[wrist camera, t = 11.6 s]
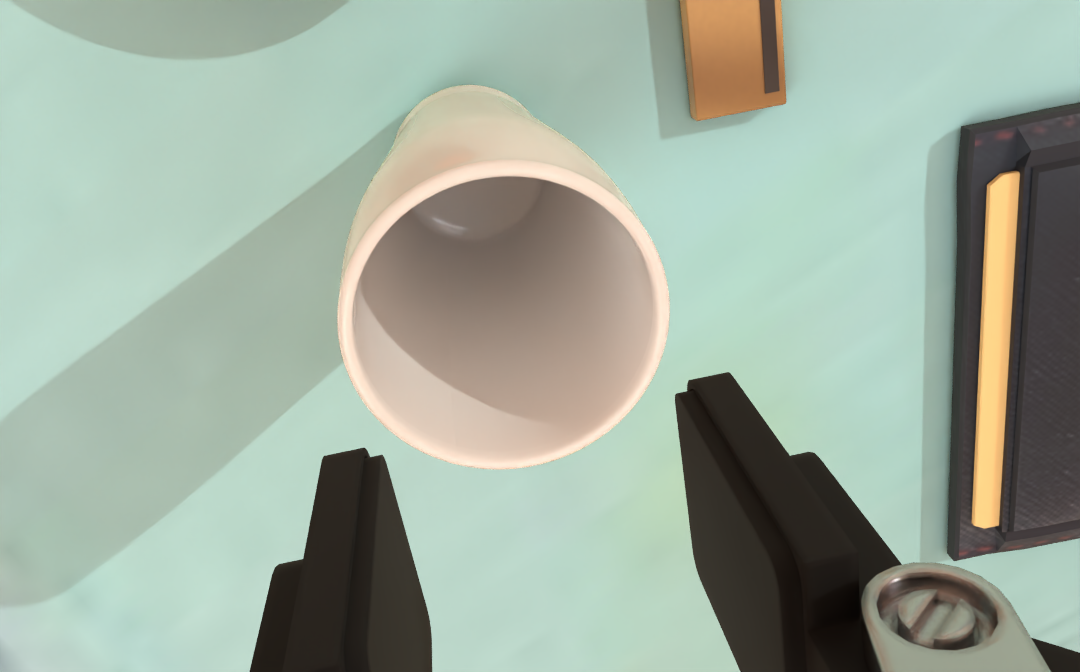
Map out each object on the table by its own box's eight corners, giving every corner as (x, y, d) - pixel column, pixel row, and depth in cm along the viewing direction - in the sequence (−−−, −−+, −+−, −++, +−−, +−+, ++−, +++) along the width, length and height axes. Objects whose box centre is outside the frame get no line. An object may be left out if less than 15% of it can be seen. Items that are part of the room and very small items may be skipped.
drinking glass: (425, 283, 33) (428, 524, 19) (334, 112, 30) (263, 251, 17) (594, 205, 33) (720, 395, 19) (518, 24, 30) (602, 95, 16)
